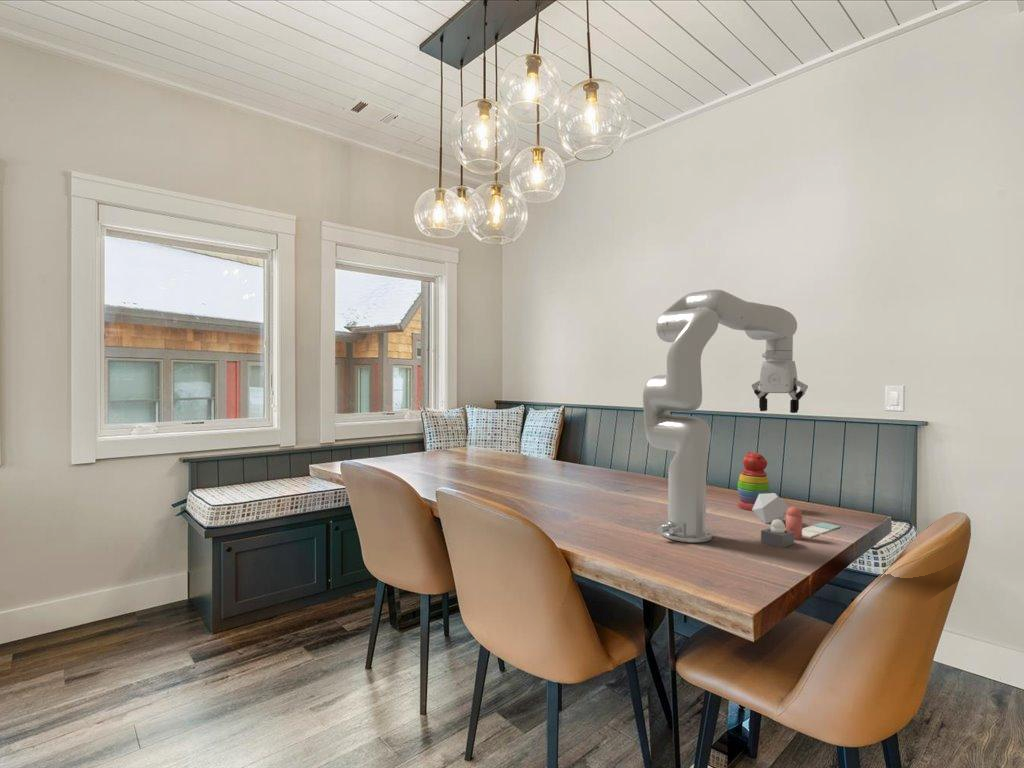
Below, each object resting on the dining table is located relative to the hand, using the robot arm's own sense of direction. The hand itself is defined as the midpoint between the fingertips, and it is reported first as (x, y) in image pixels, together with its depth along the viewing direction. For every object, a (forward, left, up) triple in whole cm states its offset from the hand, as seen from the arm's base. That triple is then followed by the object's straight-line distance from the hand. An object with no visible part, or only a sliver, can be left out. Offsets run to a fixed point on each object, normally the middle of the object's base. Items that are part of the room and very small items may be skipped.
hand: (778, 411), depth 170 cm
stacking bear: (-1, +7, -32) cm, 32 cm away
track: (-14, -17, -31) cm, 38 cm away
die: (-13, -5, -32) cm, 34 cm away
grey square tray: (-31, -17, -31) cm, 47 cm away
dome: (-31, -17, -29) cm, 46 cm away
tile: (-5, -17, -31) cm, 36 cm away
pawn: (-23, -17, -31) cm, 42 cm away
